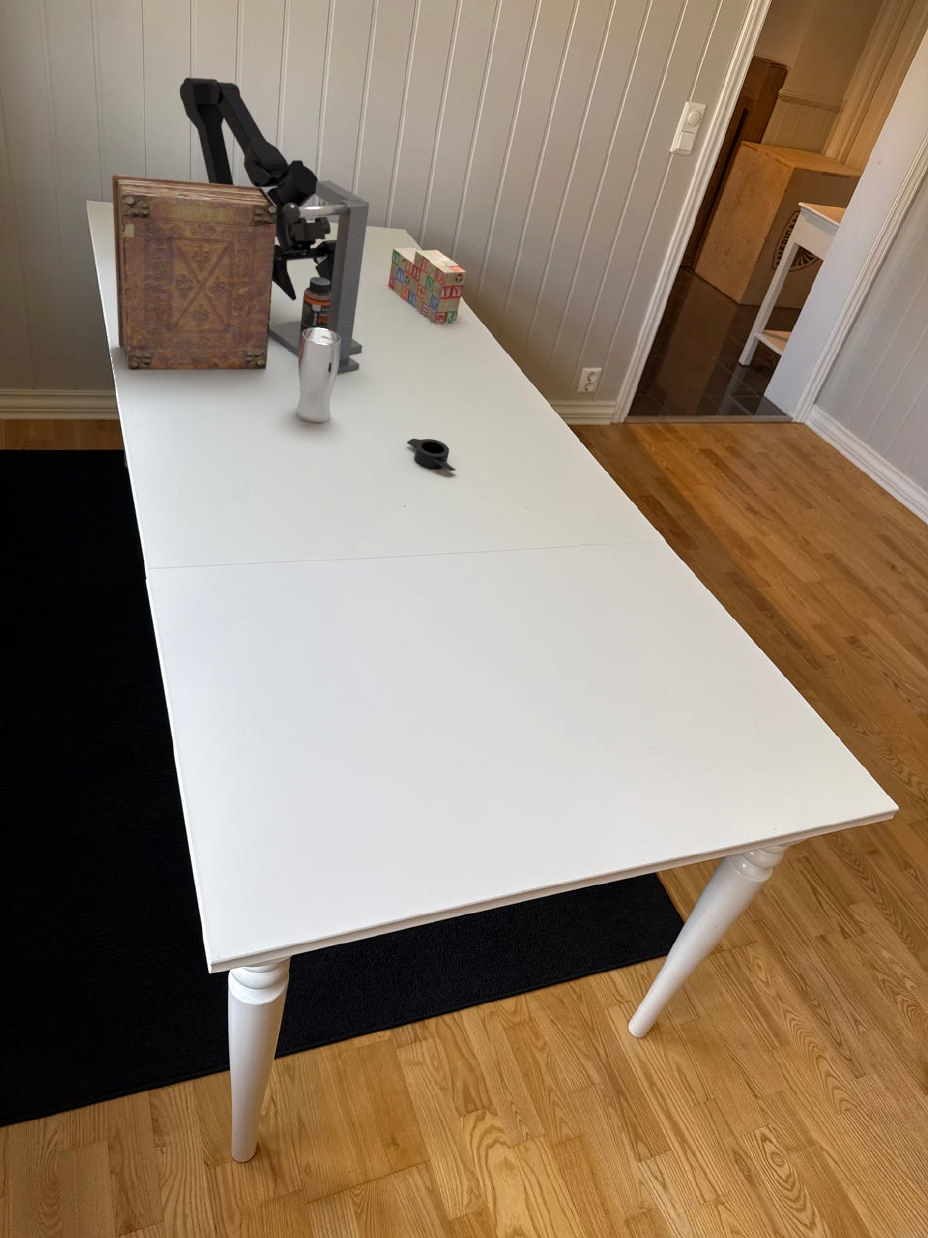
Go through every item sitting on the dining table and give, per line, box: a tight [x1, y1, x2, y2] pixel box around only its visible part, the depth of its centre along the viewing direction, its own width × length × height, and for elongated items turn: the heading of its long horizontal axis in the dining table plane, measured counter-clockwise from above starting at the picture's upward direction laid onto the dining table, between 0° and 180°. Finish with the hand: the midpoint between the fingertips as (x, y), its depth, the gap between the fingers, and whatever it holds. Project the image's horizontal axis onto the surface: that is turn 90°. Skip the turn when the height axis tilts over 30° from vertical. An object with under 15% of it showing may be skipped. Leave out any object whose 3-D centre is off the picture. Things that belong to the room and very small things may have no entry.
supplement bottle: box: [300, 276, 331, 334], centre depth 176 cm, size 6×6×11 cm
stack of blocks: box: [387, 247, 467, 325], centre depth 205 cm, size 21×6×12 cm, turn 35°
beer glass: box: [295, 328, 341, 424], centre depth 154 cm, size 7×7×15 cm
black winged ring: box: [406, 438, 457, 472], centre depth 154 cm, size 8×10×3 cm
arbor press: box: [268, 180, 370, 375], centre depth 166 cm, size 20×24×32 cm
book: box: [111, 174, 277, 371], centre depth 156 cm, size 25×9×30 cm, turn 115°
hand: (313, 297), depth 176 cm, fingers open, 9 cm apart
